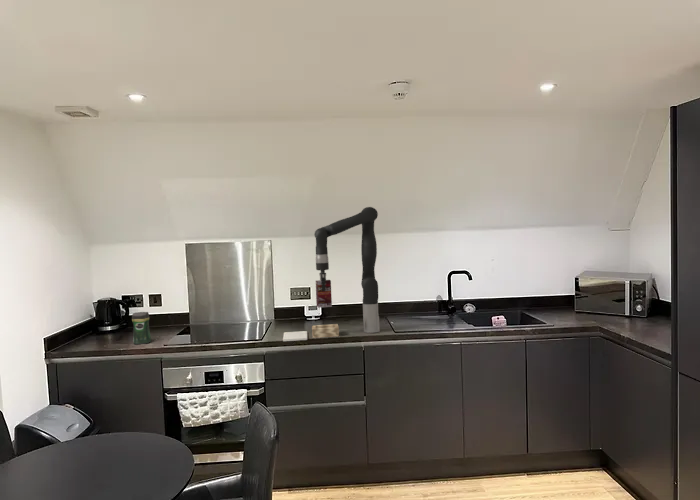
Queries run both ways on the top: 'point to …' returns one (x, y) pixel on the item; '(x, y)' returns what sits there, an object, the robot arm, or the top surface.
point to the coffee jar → (141, 327)
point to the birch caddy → (325, 330)
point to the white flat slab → (295, 336)
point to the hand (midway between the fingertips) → (323, 290)
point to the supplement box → (323, 294)
